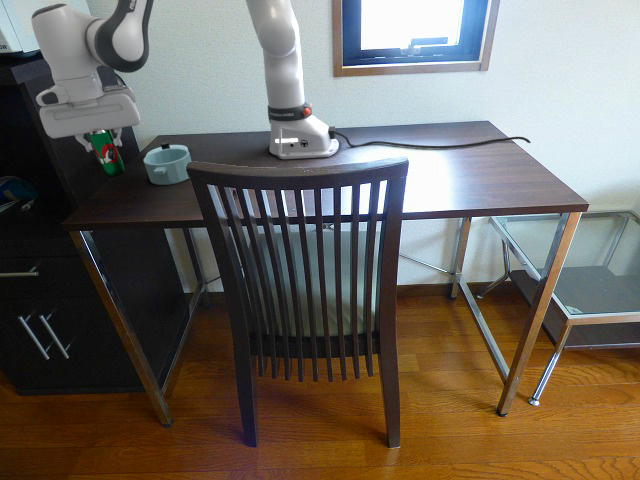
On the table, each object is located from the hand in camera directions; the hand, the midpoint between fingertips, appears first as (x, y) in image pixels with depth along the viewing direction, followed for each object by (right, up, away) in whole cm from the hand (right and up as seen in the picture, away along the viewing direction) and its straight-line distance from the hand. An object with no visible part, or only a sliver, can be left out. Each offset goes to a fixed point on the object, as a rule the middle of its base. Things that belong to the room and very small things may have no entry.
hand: (105, 148), depth 94 cm
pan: (+9, -3, +19) cm, 21 cm away
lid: (+2, +6, +32) cm, 33 cm away
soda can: (+1, -6, +4) cm, 7 cm away
